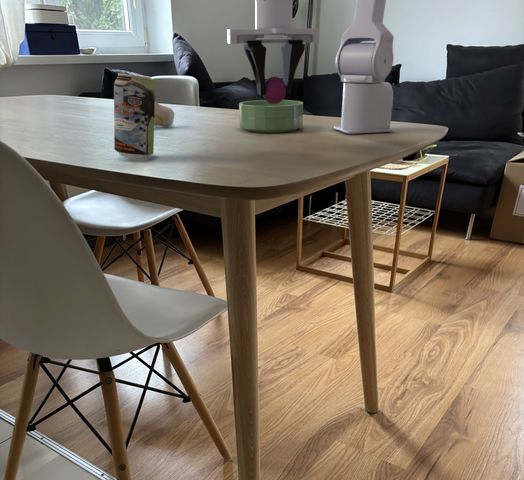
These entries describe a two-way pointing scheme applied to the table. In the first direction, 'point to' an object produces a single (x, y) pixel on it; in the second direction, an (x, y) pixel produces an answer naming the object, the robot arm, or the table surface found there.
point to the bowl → (271, 116)
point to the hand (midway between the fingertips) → (273, 94)
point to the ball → (274, 90)
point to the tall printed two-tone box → (134, 116)
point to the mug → (163, 116)
